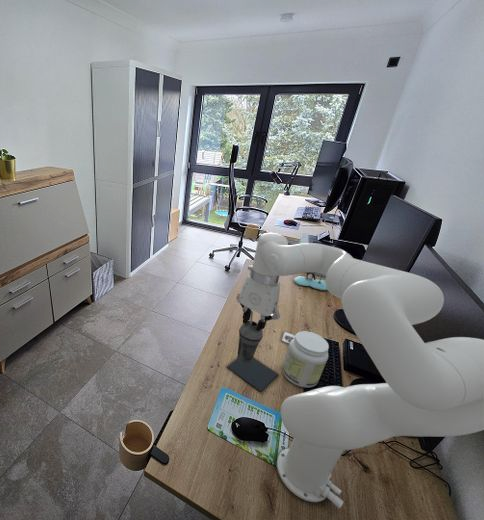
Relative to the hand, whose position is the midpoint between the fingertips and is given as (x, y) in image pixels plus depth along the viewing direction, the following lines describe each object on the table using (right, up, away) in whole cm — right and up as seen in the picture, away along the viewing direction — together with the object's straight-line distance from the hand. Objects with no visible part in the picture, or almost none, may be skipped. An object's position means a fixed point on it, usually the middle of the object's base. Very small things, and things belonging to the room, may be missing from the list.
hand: (252, 324), depth 92 cm
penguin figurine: (+63, +6, +73) cm, 97 cm away
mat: (+7, -22, +17) cm, 28 cm away
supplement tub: (+23, -23, +16) cm, 36 cm away
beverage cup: (0, -14, +7) cm, 15 cm away
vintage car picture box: (+33, -15, +31) cm, 48 cm away
